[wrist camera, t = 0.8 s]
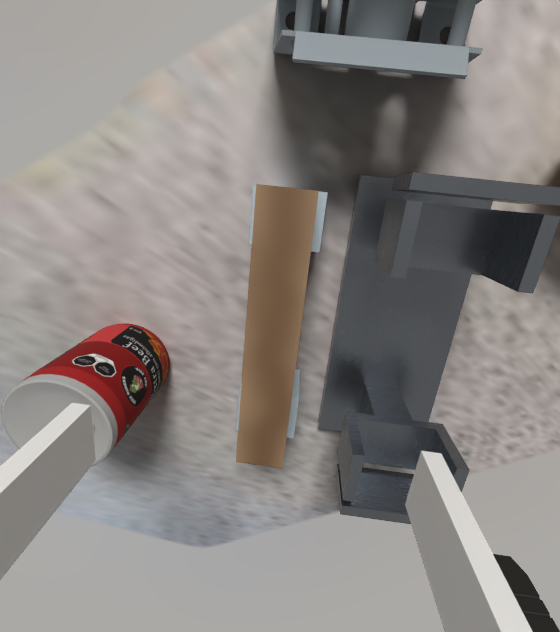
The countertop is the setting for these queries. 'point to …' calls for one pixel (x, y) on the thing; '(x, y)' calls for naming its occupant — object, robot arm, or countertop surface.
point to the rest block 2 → (292, 410)
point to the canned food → (91, 386)
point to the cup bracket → (415, 318)
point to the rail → (274, 319)
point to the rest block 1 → (317, 226)
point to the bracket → (378, 36)
